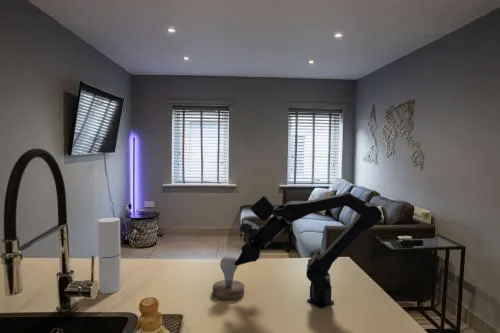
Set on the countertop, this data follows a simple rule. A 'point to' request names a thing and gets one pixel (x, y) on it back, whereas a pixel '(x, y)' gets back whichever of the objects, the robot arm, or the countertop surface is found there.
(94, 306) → the countertop surface
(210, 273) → the countertop surface
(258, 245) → the robot arm
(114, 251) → the cylindrical container
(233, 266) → the lightbulb
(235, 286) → the walnut base
